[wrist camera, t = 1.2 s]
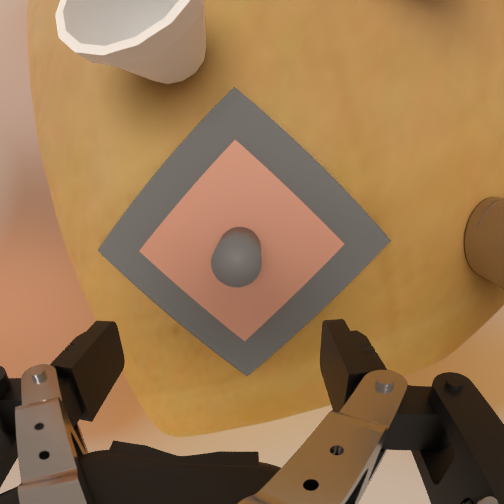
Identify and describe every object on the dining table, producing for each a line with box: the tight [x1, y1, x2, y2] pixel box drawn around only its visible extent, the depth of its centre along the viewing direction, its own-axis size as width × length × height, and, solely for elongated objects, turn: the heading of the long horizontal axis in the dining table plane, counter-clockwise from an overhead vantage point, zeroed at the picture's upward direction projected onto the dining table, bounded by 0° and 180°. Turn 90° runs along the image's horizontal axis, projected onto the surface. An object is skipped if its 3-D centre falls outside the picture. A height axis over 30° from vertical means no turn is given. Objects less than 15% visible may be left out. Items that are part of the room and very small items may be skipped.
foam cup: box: [55, 0, 206, 84], centre depth 19 cm, size 10×9×13 cm
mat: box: [98, 87, 391, 376], centre depth 29 cm, size 20×20×1 cm
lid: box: [139, 140, 344, 341], centre depth 26 cm, size 13×13×6 cm
